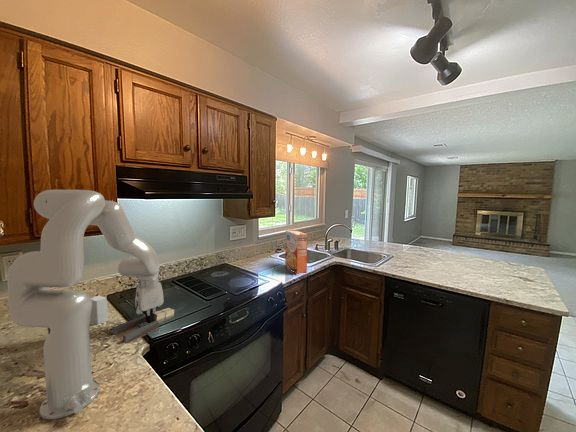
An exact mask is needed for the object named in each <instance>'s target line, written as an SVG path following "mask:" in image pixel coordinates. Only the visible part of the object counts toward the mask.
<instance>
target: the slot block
mask: <svg viewBox="0 0 576 432" xmlns="http://www.w3.org/2000/svg"><path fill="white" fill-rule="evenodd" d="M144 322H146V316H145V314H143V315H141V316H139V317H136V318H133V319H130V320H129V321H126V322H123V323H121V324H119V325H116V326H114V327H112V328H111V334H112V335H113V336H115V337H116V338H118V339H119V340H121V341H122V342H124V343H125V344H127V345H128V344H130V343H132V342H134V341H136V340H138V339H140V338H142V337H144V336H148V334H146V333H147V332H150V333H153V332H155V331H157V330H159V329H161V327H160V322H158V321H154V322H151V323H149V324H147V325H145V326H142V327H140V328H139V327H138V326H137V325H138V324H141V323H144ZM150 333H149V334H150Z"/></svg>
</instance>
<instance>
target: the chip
mask: <svg viewBox="0 0 576 432" xmlns="http://www.w3.org/2000/svg"><path fill="white" fill-rule="evenodd" d="M165 316H166V313H165V312H163V311H161V310H156V312H155V313H154V318H155V319H154V321H158V322H159V323H162V322H164V321H166V320H165Z"/></svg>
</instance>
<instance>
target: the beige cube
mask: <svg viewBox="0 0 576 432" xmlns="http://www.w3.org/2000/svg"><path fill="white" fill-rule="evenodd" d="M160 311H163V312H165V313H166V316H165V320H164V321H166V320H169V319H172V318H174V316H175V309H172V308H170V307H167V308H164V309H161V310H160Z"/></svg>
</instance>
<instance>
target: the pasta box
mask: <svg viewBox="0 0 576 432" xmlns="http://www.w3.org/2000/svg"><path fill="white" fill-rule="evenodd" d="M284 257H285V258H284V260H285V261H284V262H285V264H284V266H285V265H286V266H287V267H288V268H290V269H291V270H292V271H294V272H295V273H296V274H299V273H307V272H308V270H307V268H308V233H304V232H302V231H299V230H297V229H290V230H288V229H287V230H285V255H284ZM288 268H287V269H288ZM292 271H291V272H292ZM296 274H295V275H296ZM307 274H308V273H307Z"/></svg>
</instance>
